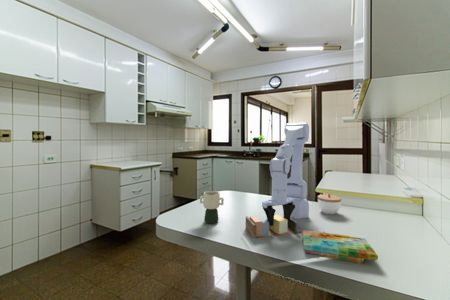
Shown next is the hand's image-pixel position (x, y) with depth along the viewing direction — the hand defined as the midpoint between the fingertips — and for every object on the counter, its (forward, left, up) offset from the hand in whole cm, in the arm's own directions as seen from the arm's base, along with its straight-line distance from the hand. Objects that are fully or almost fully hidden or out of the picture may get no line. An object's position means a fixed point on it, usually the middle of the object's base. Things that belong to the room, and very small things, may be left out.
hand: (278, 223), depth 85 cm
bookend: (-7, 0, -3) cm, 8 cm away
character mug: (+24, -17, -4) cm, 29 cm away
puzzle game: (-11, +17, -4) cm, 21 cm away
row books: (+8, 0, -3) cm, 9 cm away
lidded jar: (-36, -16, -4) cm, 40 cm away
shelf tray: (+1, 0, -4) cm, 4 cm away
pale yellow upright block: (0, 0, -3) cm, 3 cm away
